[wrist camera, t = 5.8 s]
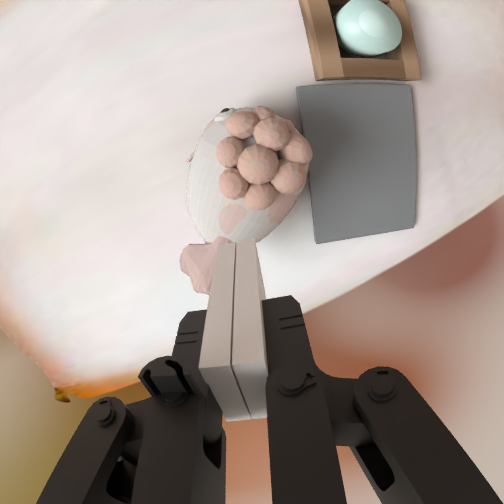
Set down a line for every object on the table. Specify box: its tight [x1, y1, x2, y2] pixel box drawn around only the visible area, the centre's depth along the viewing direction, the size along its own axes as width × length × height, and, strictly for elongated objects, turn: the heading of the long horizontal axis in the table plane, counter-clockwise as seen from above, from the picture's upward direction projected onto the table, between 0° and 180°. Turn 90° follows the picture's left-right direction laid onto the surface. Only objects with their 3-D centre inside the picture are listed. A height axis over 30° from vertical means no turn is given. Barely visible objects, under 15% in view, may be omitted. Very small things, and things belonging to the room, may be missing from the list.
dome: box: [332, 0, 402, 57], centre depth 18 cm, size 6×6×4 cm
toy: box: [180, 106, 313, 295], centre depth 23 cm, size 10×15×10 cm, turn 156°
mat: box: [296, 84, 416, 244], centre depth 26 cm, size 16×12×1 cm
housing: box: [299, 0, 421, 81], centre depth 19 cm, size 10×10×3 cm
